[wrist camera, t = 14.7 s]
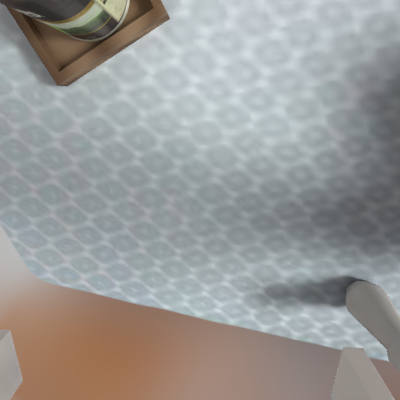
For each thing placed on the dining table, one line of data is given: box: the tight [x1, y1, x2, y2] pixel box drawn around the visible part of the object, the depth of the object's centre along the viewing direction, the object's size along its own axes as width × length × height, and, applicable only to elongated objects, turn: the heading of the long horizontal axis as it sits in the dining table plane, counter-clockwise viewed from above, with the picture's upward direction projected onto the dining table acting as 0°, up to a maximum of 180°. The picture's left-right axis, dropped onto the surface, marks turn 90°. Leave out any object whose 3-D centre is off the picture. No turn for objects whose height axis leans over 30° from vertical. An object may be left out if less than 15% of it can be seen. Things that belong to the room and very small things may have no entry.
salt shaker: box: [345, 280, 400, 372], centre depth 37 cm, size 6×6×13 cm
